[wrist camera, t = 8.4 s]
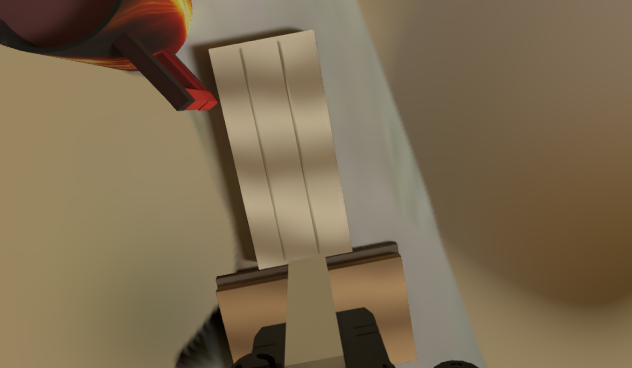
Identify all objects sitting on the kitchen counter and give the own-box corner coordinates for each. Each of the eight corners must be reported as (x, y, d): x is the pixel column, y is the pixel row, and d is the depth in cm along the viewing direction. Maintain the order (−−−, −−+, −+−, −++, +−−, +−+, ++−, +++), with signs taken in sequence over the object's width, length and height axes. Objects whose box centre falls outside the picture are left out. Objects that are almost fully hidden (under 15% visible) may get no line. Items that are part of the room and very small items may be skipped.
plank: (212, 51, 32) (208, 49, 31) (312, 32, 32) (313, 29, 31) (260, 262, 36) (259, 270, 34) (350, 245, 36) (352, 252, 34)
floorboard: (217, 276, 36) (213, 283, 35) (395, 242, 36) (399, 248, 35) (243, 383, 38) (241, 394, 37) (412, 350, 38) (416, 360, 37)
